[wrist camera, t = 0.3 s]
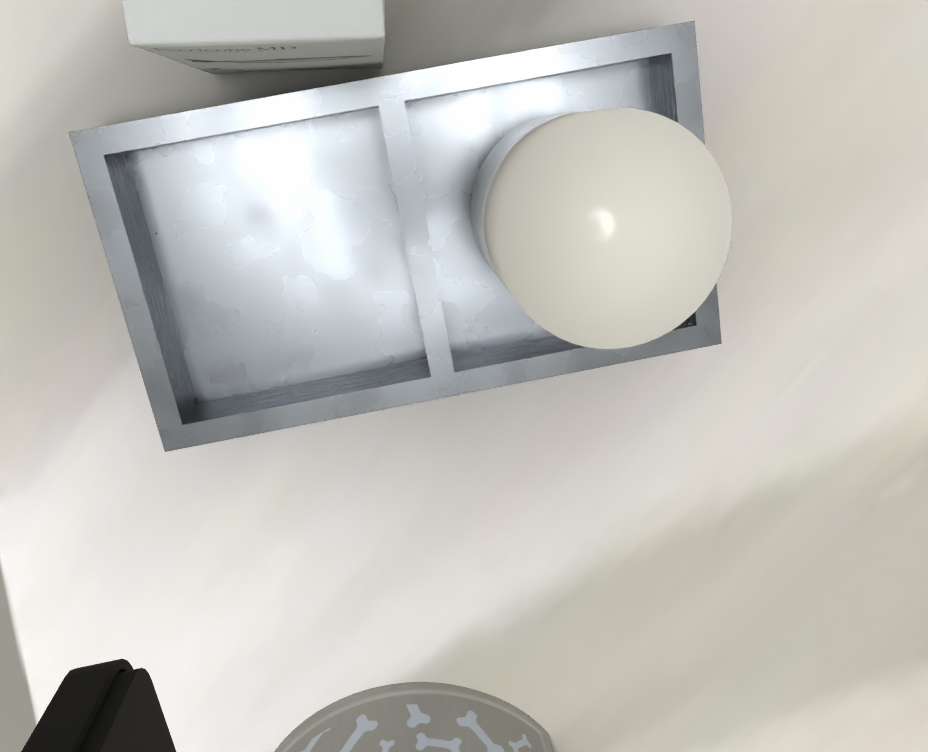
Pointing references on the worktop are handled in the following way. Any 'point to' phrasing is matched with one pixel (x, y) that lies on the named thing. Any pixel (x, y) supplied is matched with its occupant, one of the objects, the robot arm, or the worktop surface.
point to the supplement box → (260, 33)
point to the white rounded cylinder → (603, 223)
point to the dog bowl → (418, 723)
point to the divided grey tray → (350, 237)
